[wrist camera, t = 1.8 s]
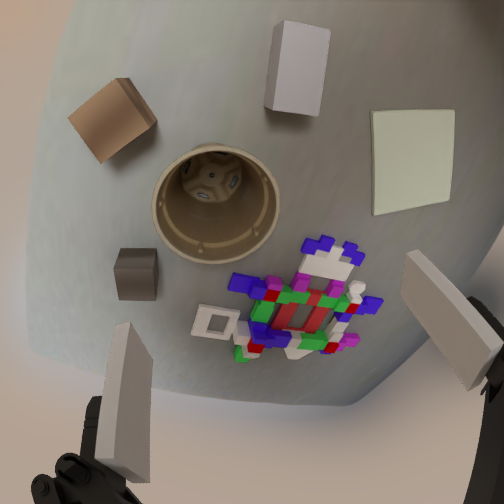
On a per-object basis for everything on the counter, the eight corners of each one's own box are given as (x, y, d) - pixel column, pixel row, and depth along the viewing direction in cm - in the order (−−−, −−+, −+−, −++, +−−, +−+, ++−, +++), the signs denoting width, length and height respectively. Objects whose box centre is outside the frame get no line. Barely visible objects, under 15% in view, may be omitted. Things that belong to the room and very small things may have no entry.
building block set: (404, 256, 40) (421, 274, 36) (337, 358, 49) (346, 379, 46) (229, 208, 33) (233, 228, 29) (186, 343, 42) (186, 368, 38)
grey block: (263, 106, 27) (272, 110, 24) (273, 26, 23) (284, 20, 20) (303, 111, 28) (318, 116, 25) (314, 34, 24) (330, 30, 21)
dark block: (120, 248, 32) (113, 268, 29) (156, 248, 33) (152, 269, 30) (124, 277, 34) (119, 300, 31) (158, 278, 35) (155, 300, 32)
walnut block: (87, 110, 24) (67, 117, 20) (129, 77, 24) (115, 78, 19) (115, 150, 27) (101, 164, 23) (157, 119, 26) (149, 127, 22)
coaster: (370, 111, 29) (372, 112, 28) (451, 109, 29) (454, 110, 29) (371, 213, 35) (374, 215, 34) (446, 198, 36) (449, 200, 35)
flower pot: (260, 214, 33) (279, 258, 26) (169, 222, 32) (162, 270, 24) (259, 124, 28) (282, 142, 21) (157, 132, 27) (142, 154, 20)
